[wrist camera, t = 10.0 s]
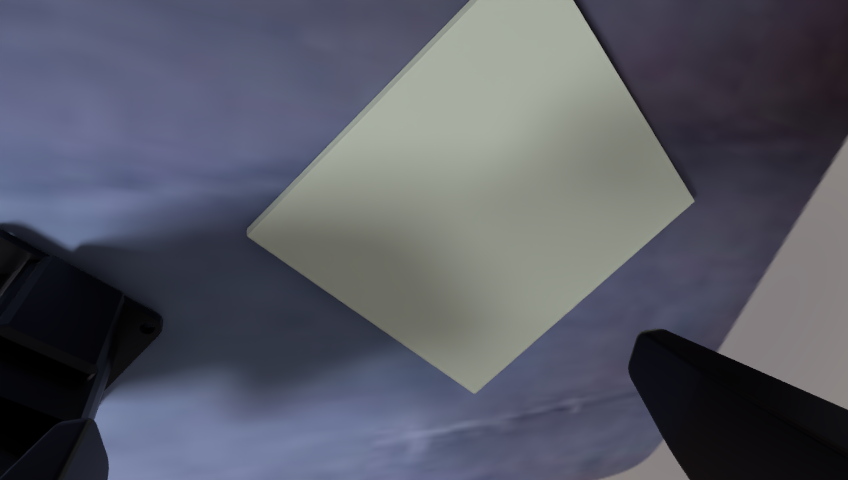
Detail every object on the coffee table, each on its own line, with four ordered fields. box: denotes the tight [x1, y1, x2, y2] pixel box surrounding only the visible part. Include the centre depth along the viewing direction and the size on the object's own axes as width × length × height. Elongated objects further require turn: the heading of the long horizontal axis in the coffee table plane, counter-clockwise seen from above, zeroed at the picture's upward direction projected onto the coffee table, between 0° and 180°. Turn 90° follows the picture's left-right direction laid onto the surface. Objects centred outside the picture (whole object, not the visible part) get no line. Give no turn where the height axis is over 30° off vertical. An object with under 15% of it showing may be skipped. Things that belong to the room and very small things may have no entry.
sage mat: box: [247, 0, 694, 394], centre depth 22 cm, size 14×14×1 cm
